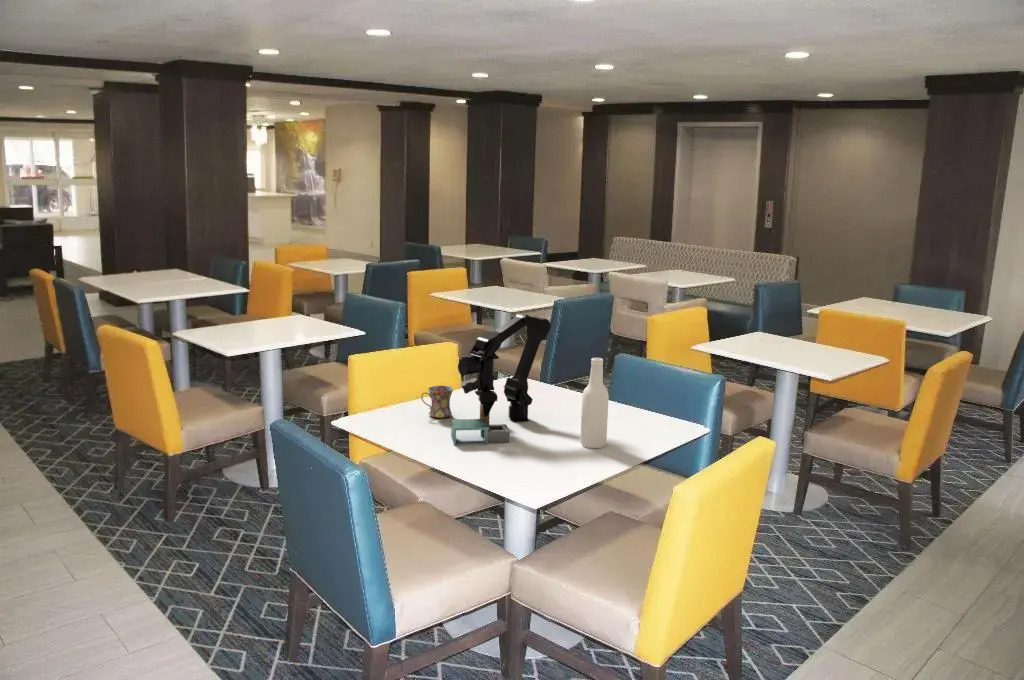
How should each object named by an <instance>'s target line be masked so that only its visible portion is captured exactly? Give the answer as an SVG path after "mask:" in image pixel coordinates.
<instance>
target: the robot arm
mask: <svg viewBox="0 0 1024 680" xmlns="http://www.w3.org/2000/svg"><path fill="white" fill-rule="evenodd" d="M524 327H526V337H527V338H526V342H525V345H524V348H523V350H522V353H521V355H520V359H519V361H518V363H517V364H518V365H517V368H516V370H515V373H514V375H512V376H511V377H506V381H505V384H504V385H503V388H504V390H503V394H504V396H505V397H506V401H507V402H509V404H510V405H509V406H508V418H509V419H510V421H511V422H528V421H529V406H530V405H532V403H533V397H531V396H530V395H529V394H528V391H529V382H528V378H529V376H530V372H531V370H532V367H533V364H534V360H535V358H536V357H537V356H536V355H537V352H538V349H539V348H540V344H541V343H542V341H544V340H545V339H546V338H547V337H548V335H549V332H550V331H551V328H552V324H551V322H550V320H549V319H548V318H543V317H539V316H530V315H529V314H525V313H522V312H521V313H517V314H516V315H515V317H513V318H512V319H510V320H509V321H507V322H506V323H504V324H503V325H501V326H500V327H498V328H497V329H496V330H494V331H493V332H487V333H485V334H483V335H481V336H479V337H477V338H476V340H475V343H474V344H473V347H472V348H471V350H470V351H469V354H468V355H462V356H461V359H460V360H459V361H458V364H457V369H458V373H459V374H460V375H461V376H471V375H472V376H473V375H475V377H473V378H470V379H467V380H465V381H462V382H461V383H460V384H461V387H462V391H463V392H464V394H465V395H466V394H469V393H471V392H473V391H474V393H475V395H476V396H478V401H479V403H480V404H482V405H483V411H484V417H487V416H488V414H489V412H491V410H492V409H493V406H494V404H495V402H498V395H497V394H498V393H497V392H495V386H494V380H495V375H494V374H495V373H494V372H495V369H494V367H495V365H494V363H495V360H498V359H500V357H499V356H498V355H497V354H496V352H497V351H498V350H499V349H500V348H501V346H502V344H503V342H505V341H506V340H507V339H509V338H511V337H512V336H513V335H514V334H516V333H518V332H519V331H520V330H521V329H523V328H524ZM480 404H479V405H480Z"/></svg>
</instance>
